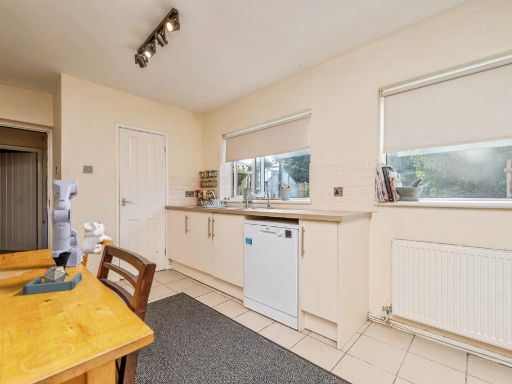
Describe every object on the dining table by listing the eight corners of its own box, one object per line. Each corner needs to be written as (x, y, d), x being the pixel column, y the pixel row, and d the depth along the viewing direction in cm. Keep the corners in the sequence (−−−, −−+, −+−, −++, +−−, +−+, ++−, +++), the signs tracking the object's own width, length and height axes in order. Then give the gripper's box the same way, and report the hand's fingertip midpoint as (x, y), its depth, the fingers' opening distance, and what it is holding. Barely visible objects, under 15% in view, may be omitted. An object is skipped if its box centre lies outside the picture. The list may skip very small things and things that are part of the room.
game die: (49, 296, 98) (33, 276, 98) (71, 282, 105) (57, 263, 105) (53, 290, 93) (36, 269, 93) (77, 275, 100) (61, 256, 100)
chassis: (82, 279, 106) (82, 272, 106) (72, 289, 95) (72, 281, 95) (38, 284, 101) (38, 276, 101) (22, 295, 90) (22, 286, 90)
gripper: (66, 240, 99) (66, 274, 99) (78, 234, 113) (78, 264, 113) (44, 241, 97) (44, 276, 97) (59, 235, 110) (59, 266, 110)
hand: (61, 270), depth 105 cm, fingers closed
